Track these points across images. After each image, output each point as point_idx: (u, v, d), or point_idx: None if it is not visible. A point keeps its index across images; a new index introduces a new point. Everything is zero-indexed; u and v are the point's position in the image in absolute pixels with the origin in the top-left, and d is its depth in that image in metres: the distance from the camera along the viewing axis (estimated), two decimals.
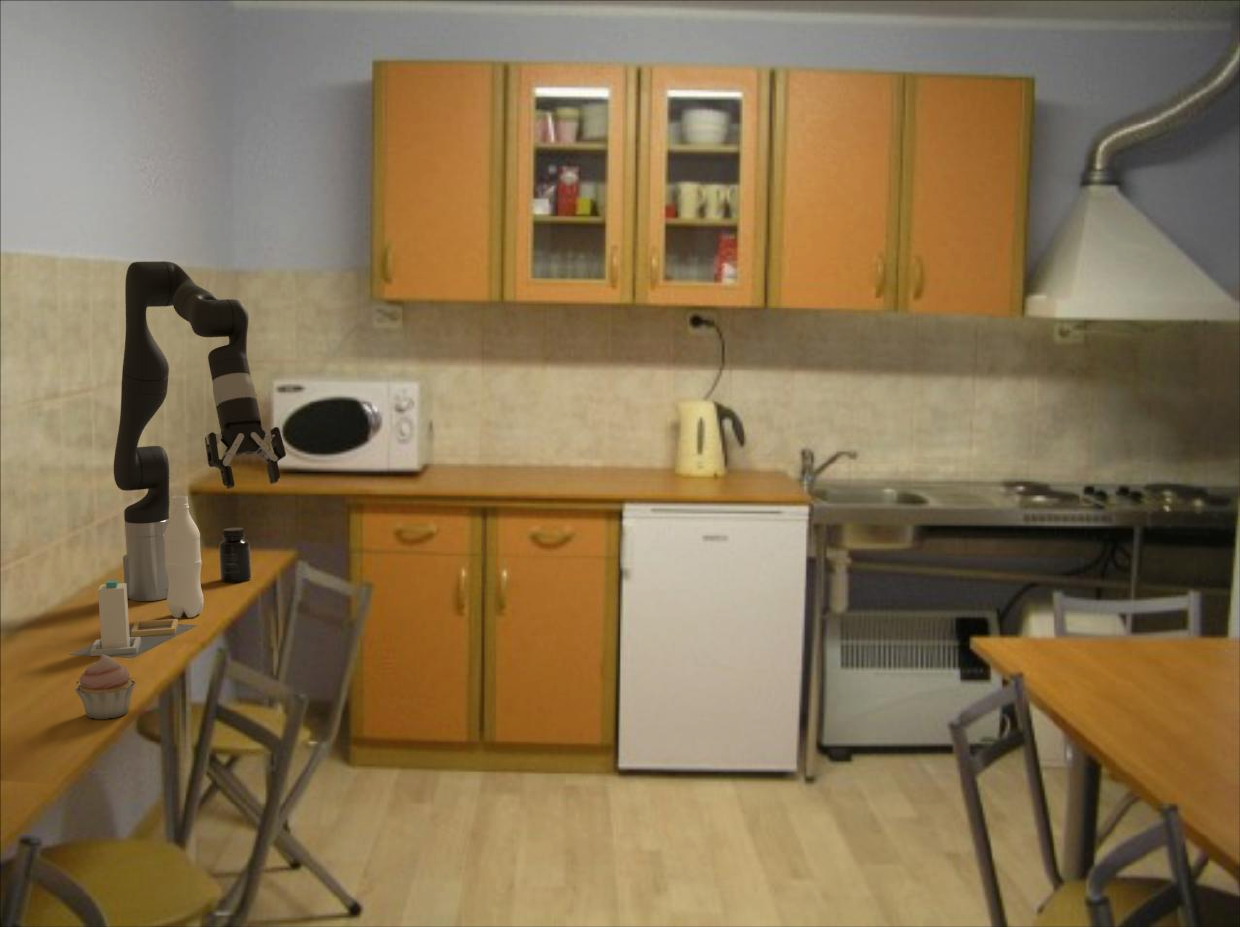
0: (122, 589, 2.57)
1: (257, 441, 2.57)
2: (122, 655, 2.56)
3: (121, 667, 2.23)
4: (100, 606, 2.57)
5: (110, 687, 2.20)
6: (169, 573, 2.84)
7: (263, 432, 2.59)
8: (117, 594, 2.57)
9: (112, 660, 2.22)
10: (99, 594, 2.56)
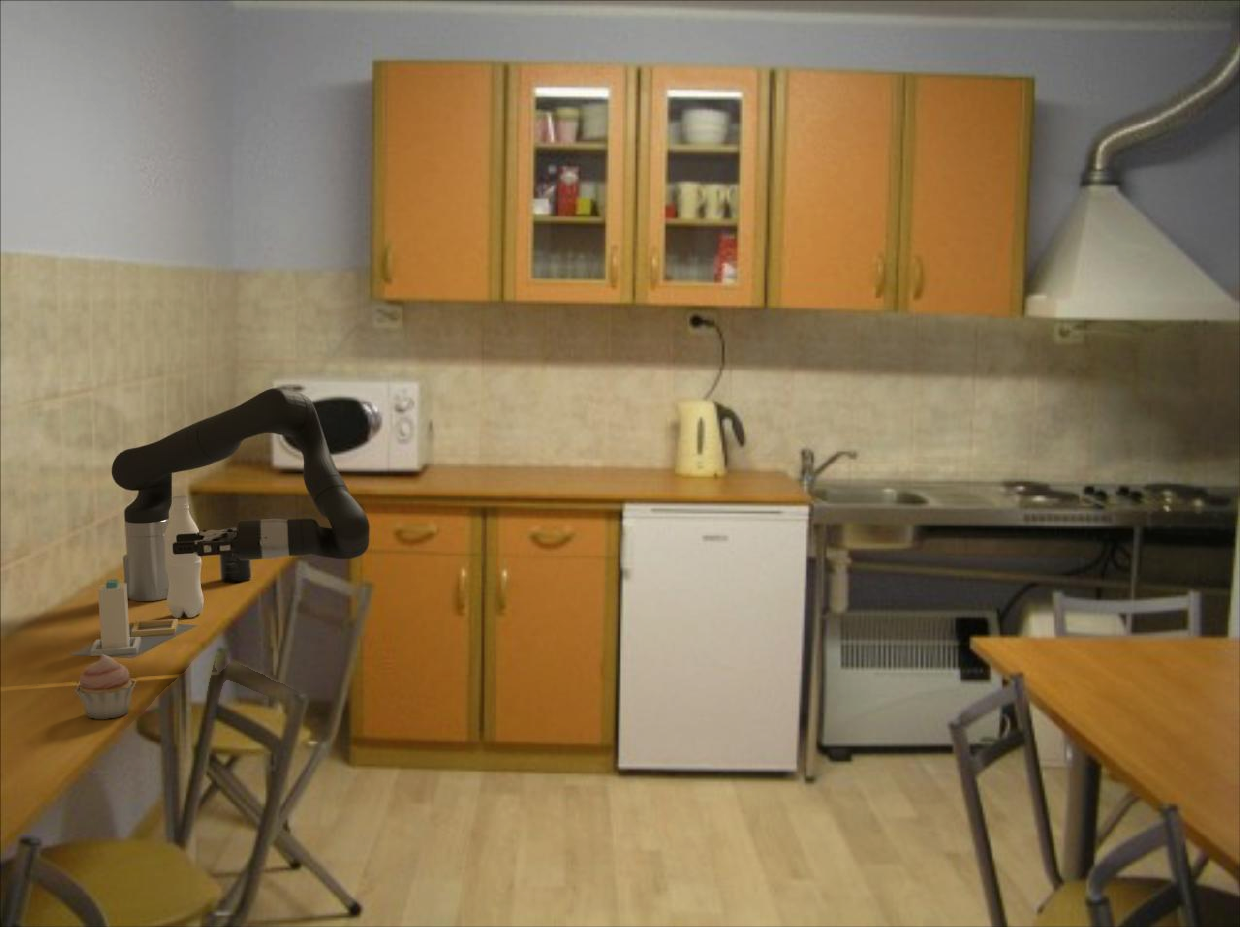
0: (122, 589, 2.57)
1: None
2: (122, 655, 2.56)
3: (121, 667, 2.23)
4: (100, 606, 2.57)
5: (110, 687, 2.20)
6: (169, 573, 2.84)
7: None
8: (117, 594, 2.57)
9: (112, 660, 2.22)
10: (99, 594, 2.56)
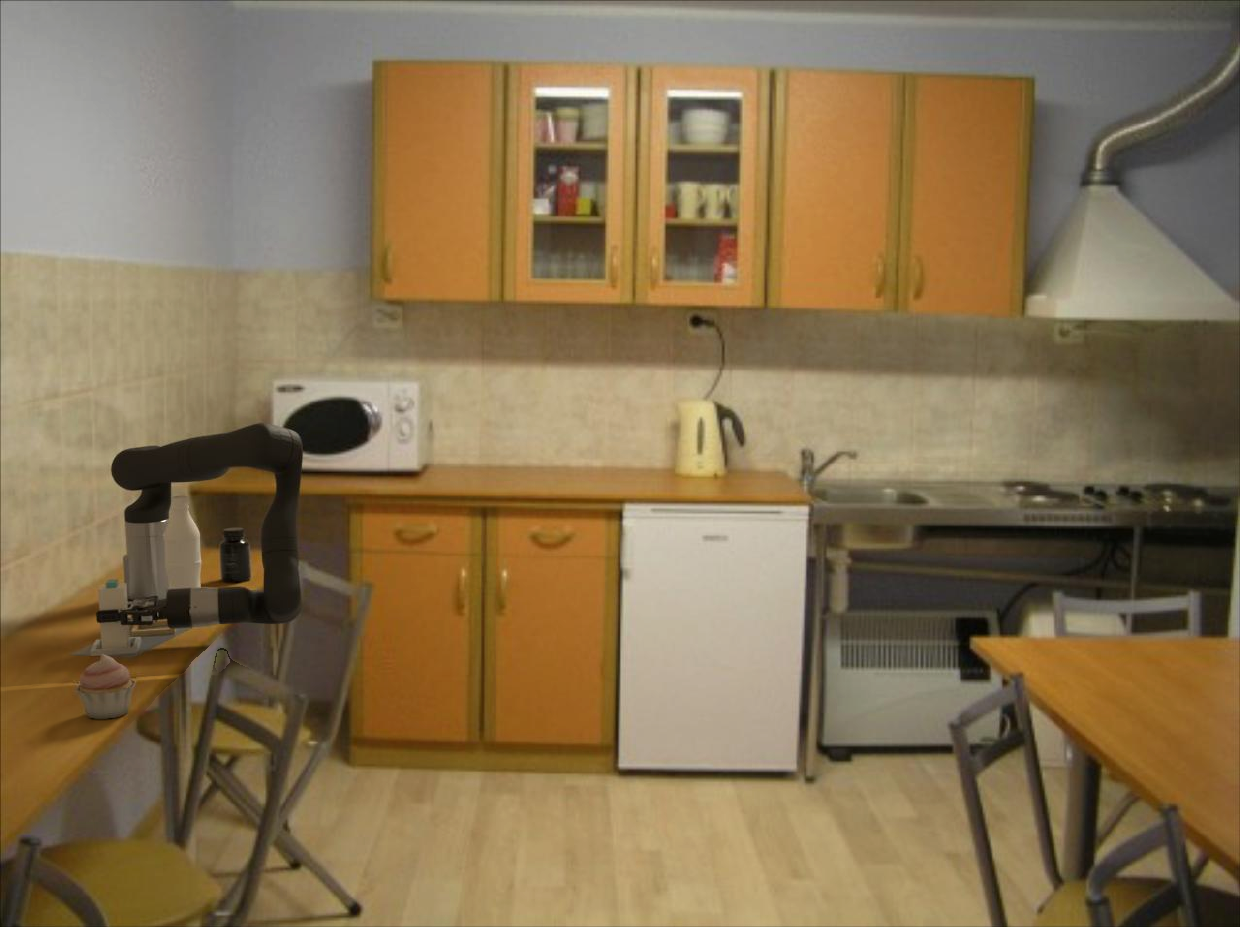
0: (122, 589, 2.57)
1: None
2: (122, 655, 2.56)
3: (121, 667, 2.23)
4: (100, 606, 2.57)
5: (110, 687, 2.20)
6: (169, 573, 2.84)
7: None
8: (117, 594, 2.57)
9: (112, 660, 2.22)
10: (99, 594, 2.56)
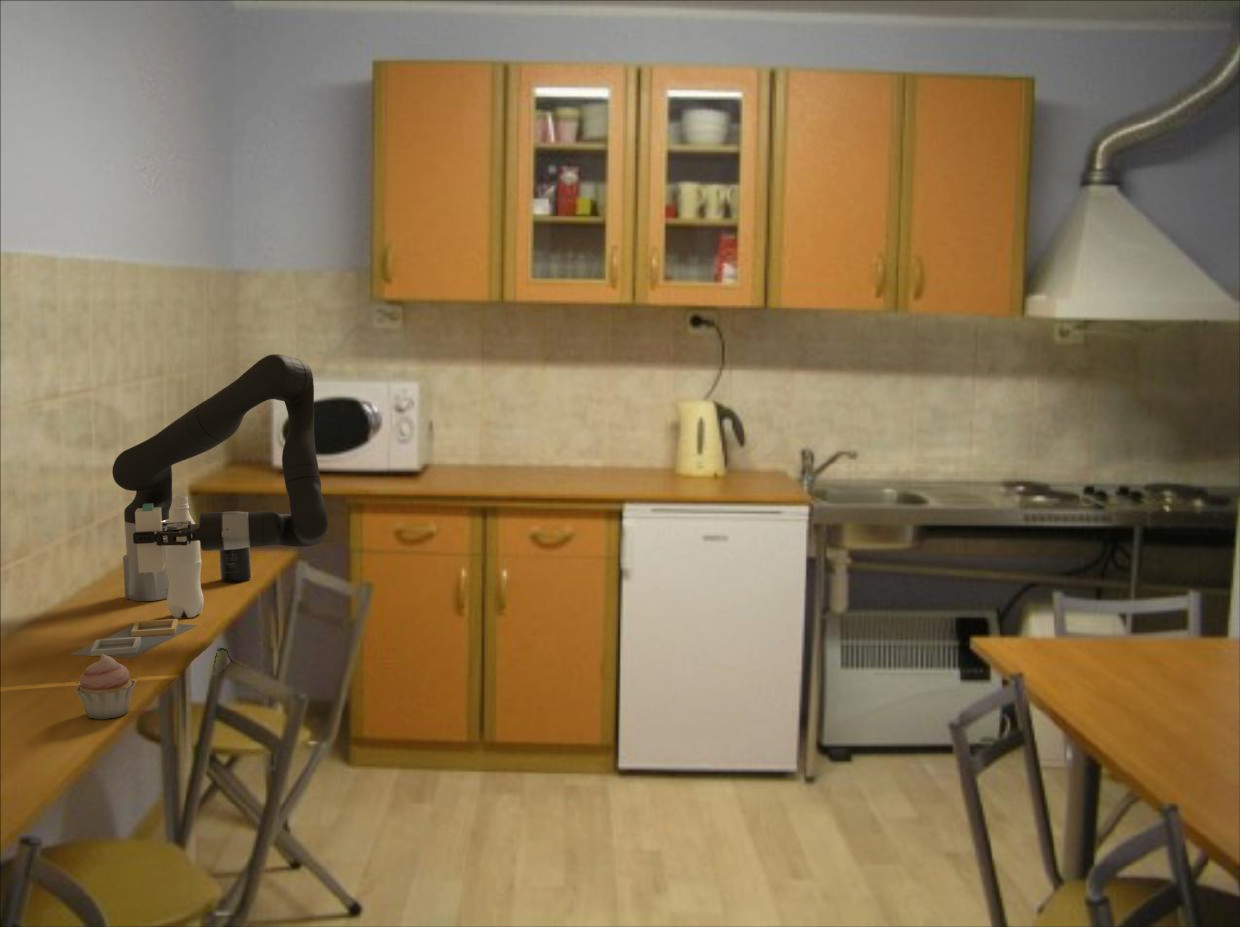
0: (158, 512, 2.69)
1: None
2: (122, 655, 2.56)
3: (121, 667, 2.23)
4: (137, 528, 2.69)
5: (110, 687, 2.20)
6: (169, 573, 2.84)
7: None
8: (153, 517, 2.69)
9: (112, 660, 2.22)
10: (136, 516, 2.68)
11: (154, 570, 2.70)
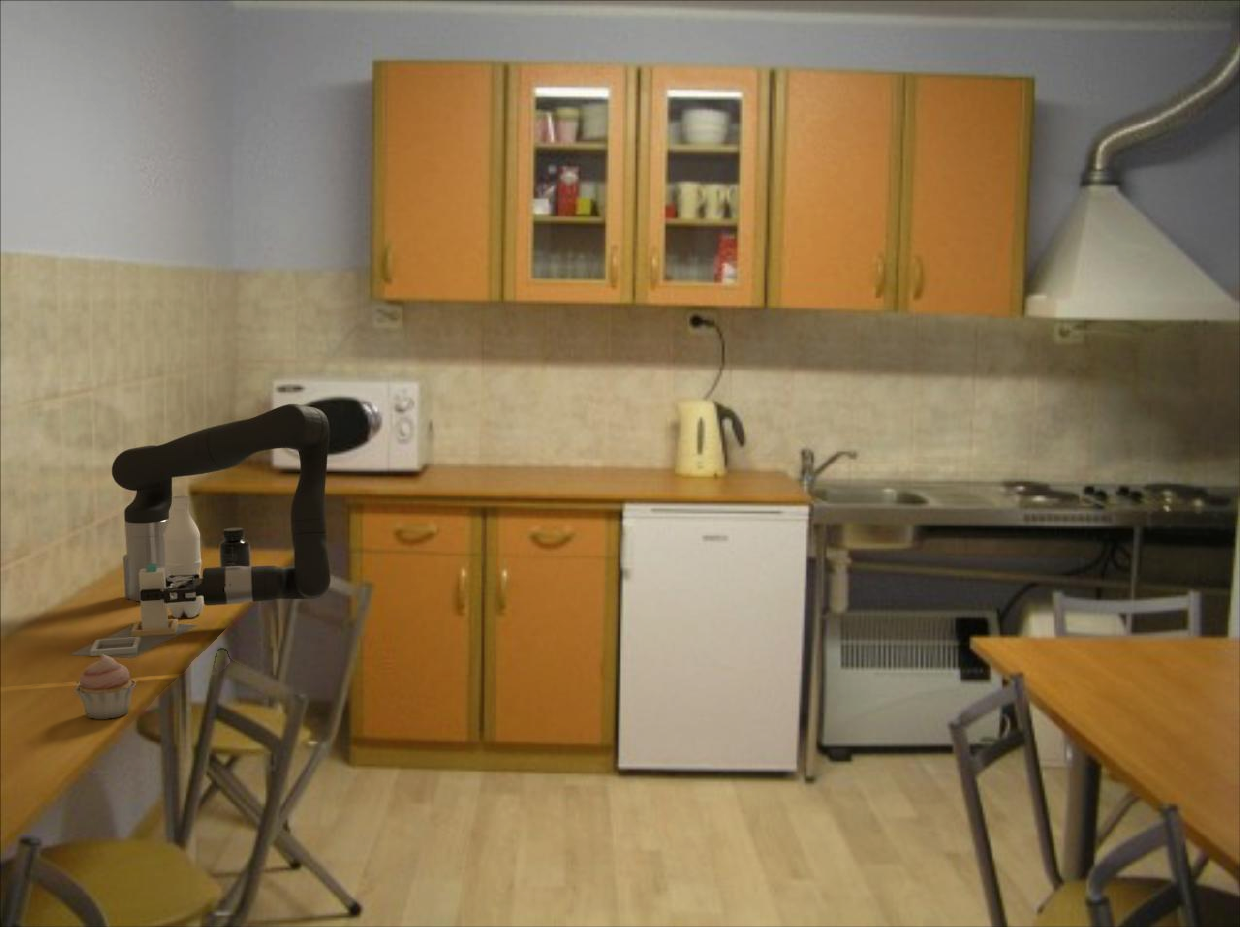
0: (161, 573, 2.71)
1: None
2: (122, 655, 2.56)
3: (121, 667, 2.23)
4: (141, 589, 2.70)
5: (110, 687, 2.20)
6: (169, 573, 2.84)
7: None
8: (157, 578, 2.71)
9: (112, 660, 2.22)
10: (140, 578, 2.70)
11: None
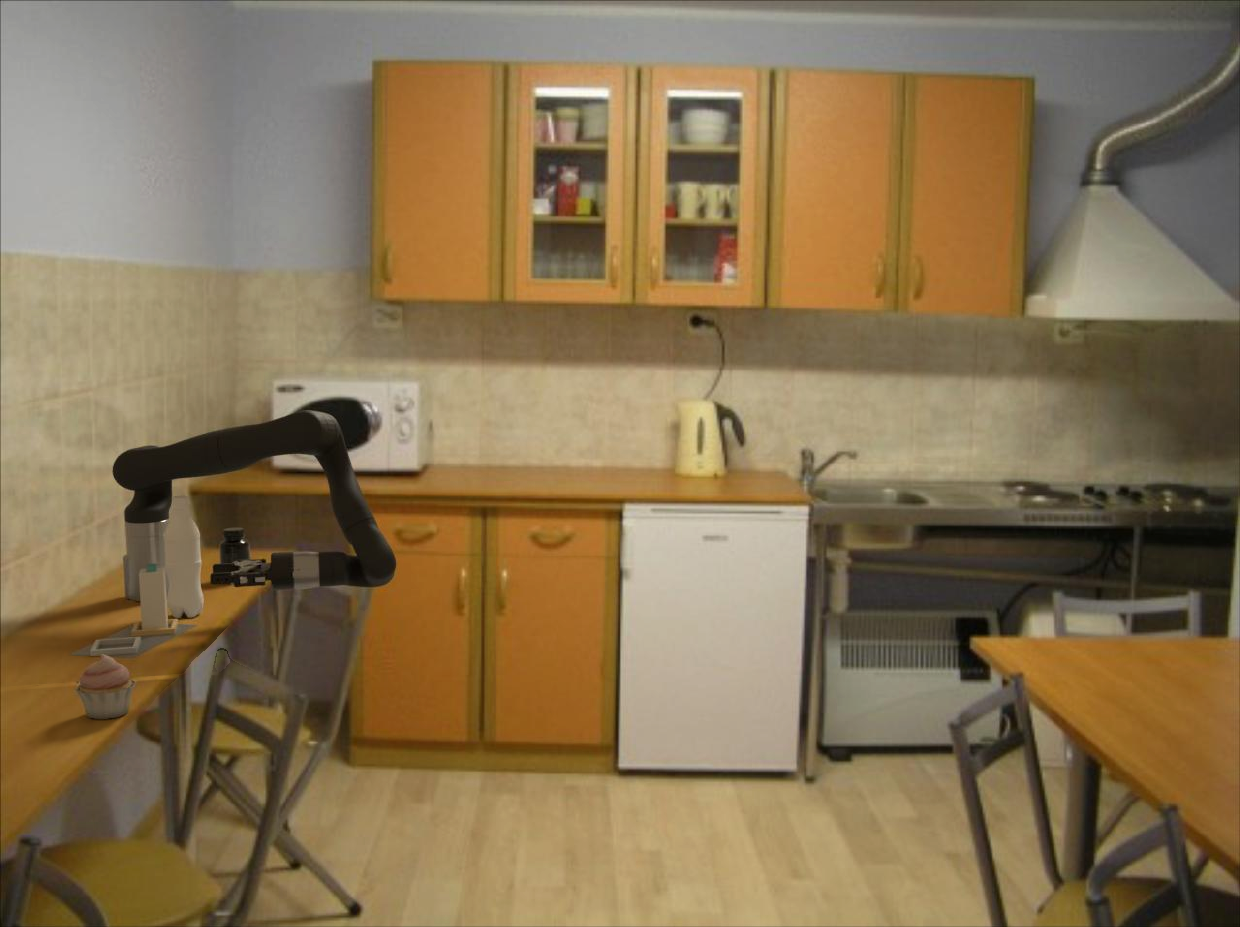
0: (161, 573, 2.71)
1: None
2: (122, 655, 2.56)
3: (121, 667, 2.23)
4: (141, 589, 2.70)
5: (110, 687, 2.20)
6: (169, 573, 2.84)
7: None
8: (157, 578, 2.71)
9: (112, 660, 2.22)
10: (140, 578, 2.70)
11: None
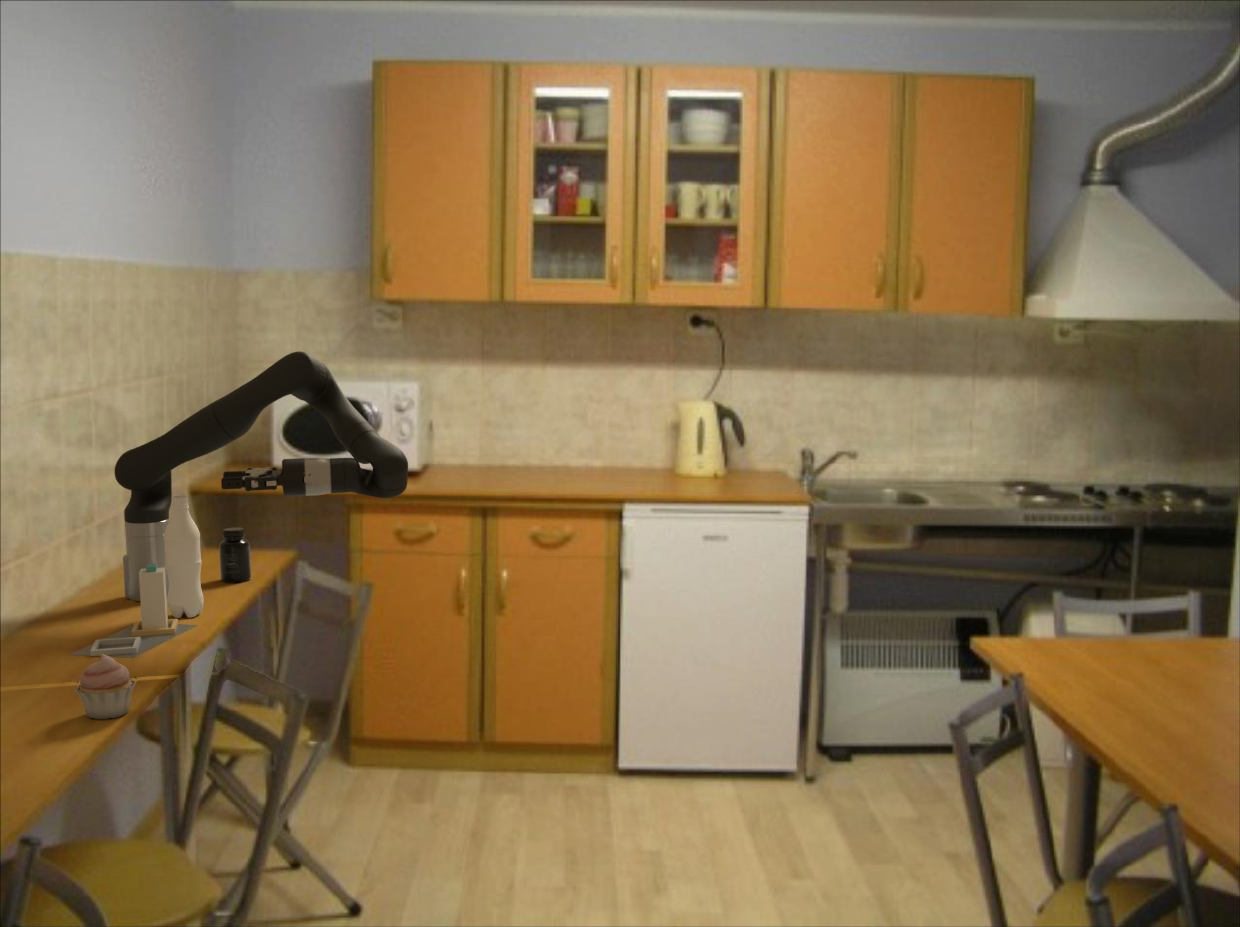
0: (161, 573, 2.71)
1: None
2: (122, 655, 2.56)
3: (121, 667, 2.23)
4: (141, 589, 2.70)
5: (110, 687, 2.20)
6: (169, 573, 2.84)
7: None
8: (157, 578, 2.71)
9: (112, 660, 2.22)
10: (140, 578, 2.70)
11: None
